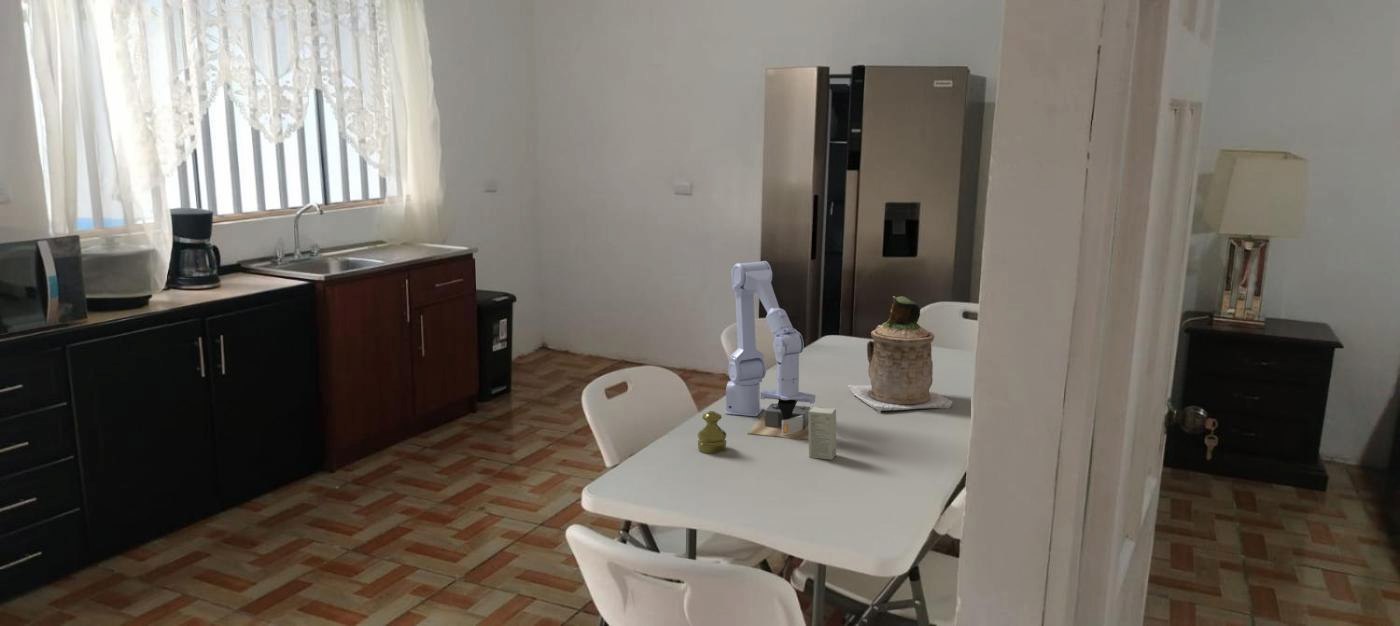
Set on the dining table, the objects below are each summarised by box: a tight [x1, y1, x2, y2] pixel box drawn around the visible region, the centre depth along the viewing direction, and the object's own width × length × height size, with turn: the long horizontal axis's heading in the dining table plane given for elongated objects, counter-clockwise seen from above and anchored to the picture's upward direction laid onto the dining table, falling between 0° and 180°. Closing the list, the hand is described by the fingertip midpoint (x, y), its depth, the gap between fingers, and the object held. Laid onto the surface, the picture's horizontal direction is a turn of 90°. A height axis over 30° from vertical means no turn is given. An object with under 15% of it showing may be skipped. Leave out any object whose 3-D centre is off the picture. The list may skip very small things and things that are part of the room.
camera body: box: [764, 403, 811, 430], centre depth 267 cm, size 11×7×5 cm, turn 71°
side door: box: [782, 415, 804, 435], centre depth 260 cm, size 7×2×4 cm, turn 126°
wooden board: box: [747, 415, 809, 441], centre depth 265 cm, size 18×16×1 cm
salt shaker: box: [697, 410, 727, 454], centre depth 248 cm, size 7×7×10 cm
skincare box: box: [808, 406, 837, 461], centre depth 242 cm, size 6×4×12 cm
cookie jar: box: [847, 295, 953, 414], centre depth 288 cm, size 25×25×32 cm
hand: (787, 426), depth 261 cm, fingers closed, pressing on side door
